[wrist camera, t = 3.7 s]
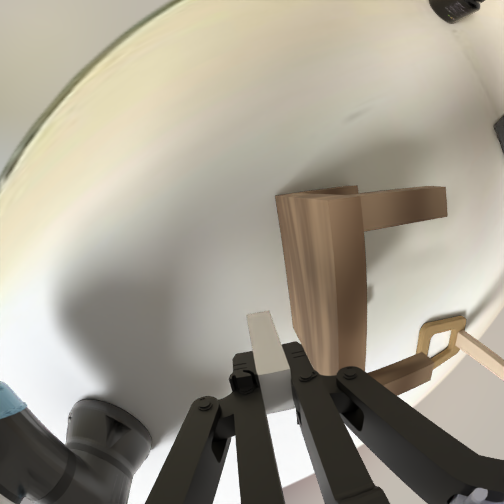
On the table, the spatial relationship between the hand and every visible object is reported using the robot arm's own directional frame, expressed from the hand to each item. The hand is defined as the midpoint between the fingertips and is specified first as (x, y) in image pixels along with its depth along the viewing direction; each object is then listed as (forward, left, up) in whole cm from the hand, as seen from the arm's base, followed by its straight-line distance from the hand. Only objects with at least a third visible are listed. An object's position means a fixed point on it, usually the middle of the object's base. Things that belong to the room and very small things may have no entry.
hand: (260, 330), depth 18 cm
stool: (+9, 0, -14) cm, 16 cm away
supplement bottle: (+43, +41, -14) cm, 61 cm away
